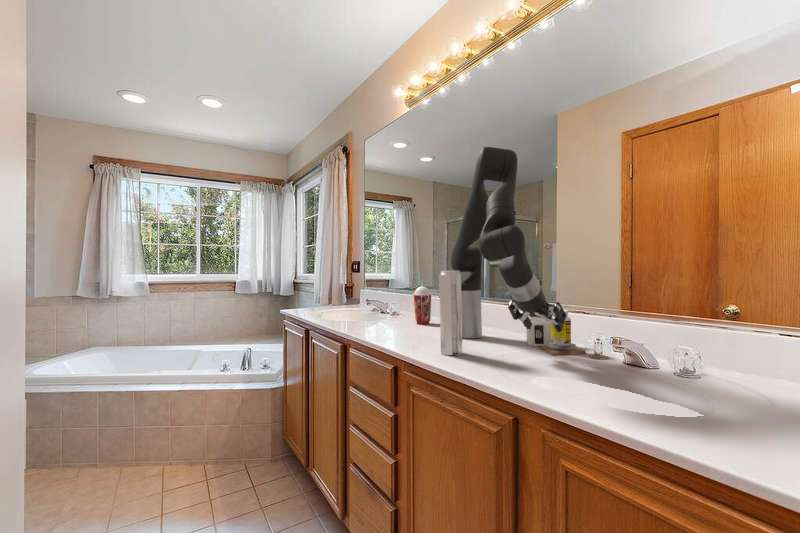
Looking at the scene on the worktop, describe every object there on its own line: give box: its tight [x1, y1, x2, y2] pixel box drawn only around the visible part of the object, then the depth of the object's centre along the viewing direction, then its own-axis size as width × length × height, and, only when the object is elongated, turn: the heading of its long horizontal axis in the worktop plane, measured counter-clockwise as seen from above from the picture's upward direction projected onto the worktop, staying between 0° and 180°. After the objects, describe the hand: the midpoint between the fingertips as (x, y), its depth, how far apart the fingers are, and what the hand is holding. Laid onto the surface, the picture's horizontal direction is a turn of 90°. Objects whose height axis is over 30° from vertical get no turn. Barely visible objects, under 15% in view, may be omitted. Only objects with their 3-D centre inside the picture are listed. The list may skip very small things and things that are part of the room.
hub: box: [537, 342, 587, 356], centre depth 117 cm, size 10×10×2 cm
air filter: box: [438, 270, 464, 356], centre depth 117 cm, size 6×6×25 cm
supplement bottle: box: [551, 309, 572, 346], centre depth 117 cm, size 6×6×10 cm
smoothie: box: [413, 279, 432, 326], centre depth 180 cm, size 8×8×20 cm
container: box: [525, 312, 551, 347], centre depth 129 cm, size 8×8×13 cm
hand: (544, 328), depth 109 cm, fingers open, 8 cm apart
